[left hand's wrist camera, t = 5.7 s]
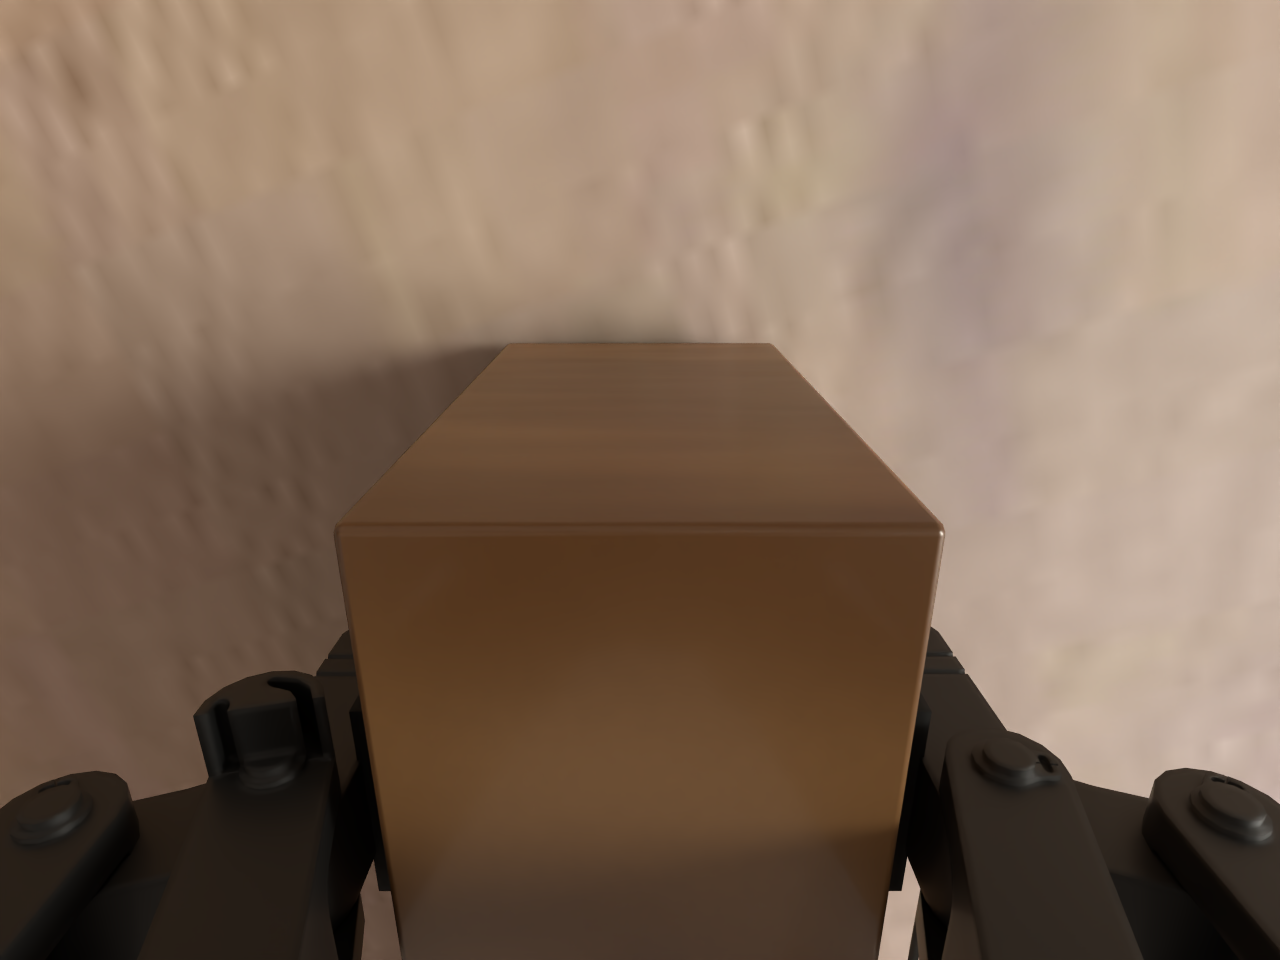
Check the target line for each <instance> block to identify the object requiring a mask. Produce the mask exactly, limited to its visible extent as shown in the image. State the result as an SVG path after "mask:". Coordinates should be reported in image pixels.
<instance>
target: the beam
mask: <svg viewBox="0 0 1280 960" xmlns="http://www.w3.org/2000/svg"><path fill="white" fill-rule="evenodd" d="M944 538H945V530H944V527H943V524H942V523H941V522H940V521H939V520H938V519H937V518H936V517H935V516H934V515H933V514H932V513H931V512H930V510H929V509H928V508H927V507H926V506H925V505H924V504H923V503H922V502H921V501H920V500H919V499H918V498H917V497H916V496H915V495H914V494H913V492H912V491H911V490H910V489H909V488H908V487H907V486H906V485H905V484H904V483H903V482H902V481H901V480H900V479H899V478H898V477H897V476H896V475H895V473H894V472H893V471H892V470H891V469H890V468H889V467H888V466H887V465H886V464H885V463H884V462H883V461H882V460H881V459H880V458H879V457H878V455H877V454H876V453H875V452H874V451H873V450H872V449H871V448H870V447H869V446H868V445H867V444H866V443H865V442H864V441H863V440H862V439H861V438H860V436H859V435H858V434H857V433H856V432H855V431H854V430H853V429H852V428H851V427H850V426H849V425H848V424H847V423H846V422H845V421H844V420H843V418H842V417H841V416H840V415H839V414H838V413H837V412H836V411H835V410H834V409H833V408H832V407H831V406H830V405H829V404H828V403H827V402H826V401H825V399H824V398H823V397H822V396H821V395H820V394H819V393H818V392H817V391H816V390H815V389H814V388H813V387H812V386H811V385H810V384H809V383H808V381H807V380H806V379H805V378H804V377H803V376H802V375H801V374H800V373H799V372H798V371H797V370H796V369H795V368H794V367H793V366H792V365H791V363H790V362H789V361H788V360H787V359H786V358H785V357H784V356H783V355H782V354H781V353H780V352H779V351H778V350H777V349H776V348H775V347H774V346H773V345H772V344H770V343H596V344H509V345H507V346H506V347H505V348H504V349H503V350H502V351H501V352H500V353H499V354H498V355H497V357H496V358H495V359H494V360H493V361H492V362H491V363H490V364H489V365H488V366H487V367H486V368H485V369H484V370H483V371H482V372H481V373H480V374H479V375H478V376H477V377H476V379H475V380H474V381H473V382H472V383H471V384H470V385H469V386H468V387H467V388H466V389H465V390H464V391H463V392H462V393H461V394H460V395H459V396H458V397H457V398H456V399H455V401H454V402H453V403H452V404H451V405H450V406H449V407H448V408H447V409H446V410H445V411H444V412H443V413H442V414H441V415H440V416H439V417H438V418H437V419H436V420H435V421H434V423H433V424H432V425H431V426H430V427H429V428H428V429H427V430H426V431H425V432H424V433H423V434H422V435H421V436H420V437H419V438H418V439H417V440H416V441H415V442H414V443H413V445H412V446H411V447H410V448H409V449H408V450H407V451H406V452H405V453H404V454H403V455H402V456H401V457H400V458H399V459H398V460H397V461H396V462H395V463H394V464H393V465H392V467H391V468H390V469H389V470H388V471H387V472H386V473H385V474H384V475H383V476H382V477H381V478H380V479H379V480H378V481H377V482H376V483H375V484H374V485H373V486H372V487H371V489H370V490H369V491H368V492H367V493H366V494H365V495H364V496H363V497H362V498H361V499H360V500H359V501H358V502H357V503H356V504H355V505H354V506H353V507H352V508H351V509H350V511H349V512H348V513H347V514H346V515H345V516H344V517H343V518H342V519H341V520H340V521H339V522H338V523H337V524H336V526H335V530H334V540H335V546H336V552H337V558H338V564H339V571H340V577H341V583H342V589H343V596H344V602H345V608H346V614H347V620H348V627H349V633H350V639H351V645H352V652H353V658H354V664H355V670H356V677H357V683H358V689H359V695H360V701H361V708H362V714H363V720H364V726H365V733H366V739H367V745H368V751H369V758H370V764H371V770H372V776H373V782H374V789H375V795H376V801H377V807H378V814H379V820H380V826H381V832H382V839H383V845H384V851H385V857H386V863H387V870H388V876H389V882H390V888H391V895H392V901H393V907H394V913H395V920H396V926H397V932H398V938H399V944H400V951H401V957H402V960H878V955H879V949H880V942H881V936H882V930H883V923H884V917H885V911H886V905H887V898H888V892H889V886H890V879H891V873H892V867H893V860H894V854H895V848H896V841H897V835H898V829H899V822H900V816H901V810H902V803H903V797H904V791H905V784H906V778H907V772H908V766H909V759H910V753H911V747H912V740H913V734H914V728H915V721H916V715H917V709H918V702H919V696H920V690H921V683H922V677H923V671H924V664H925V658H926V652H927V645H928V639H929V633H930V627H931V620H932V614H933V608H934V601H935V595H936V589H937V582H938V576H939V570H940V563H941V557H942V551H943V544H944Z"/></svg>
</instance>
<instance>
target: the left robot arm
mask: <svg viewBox="0 0 1280 960" xmlns="http://www.w3.org/2000/svg"><path fill="white" fill-rule="evenodd" d="M964 671H965V670H964V668H963V667H962V665H961V664H960V662H959V661H958V659H957V658H956V657H953V652H952V651H951V649H950V648H949V646H948V645H947V644H946V642H945V641H944V639H943V638H942V636H941V635H940V633H939V632H938V631H936V630H935V629H934V628H932V627H930V633H929V639H928V645H927V652H926V658H925V664H924V671H923V677H922V683H921V690H920V696H919V702H918V709H917V715H916V721H915V728H914V734H913V740H912V747H911V753H910V759H909V766H908V772H907V778H906V784H905V791H904V797H903V803H902V810H901V816H900V822H899V829H898V835H897V841H896V848H895V854H894V860H893V867H892V873H891V879H890V886H889V891H902V885H903V879H904V873H905V867H906V861H907V857H908V859H909V861H910V864H911V866H912V869H913V871H914V874H915V876H916V879H917V881H918V884H919V886H920V888H921V889H920V894H919V900H918V905H917V911H916V916H915V922H914V927H913V933H912V938H911V944H910V950H909V956H908V960H918V958H919V960H1280V804H1279V803H1277V802H1276V801H1275V800H1273V799H1272V798H1271V797H1270V796H1268V795H1266V794H1264V793H1262V792H1260V791H1259V790H1257V789H1255V788H1253V787H1251V786H1249V785H1247V784H1245V783H1243V782H1241V781H1239V780H1236V779H1233V778H1231V777H1227V776H1224V775H1221V774H1218V773H1215V772H1212V771H1205V770H1198V769H1190V768H1182V769H1175V770H1168V771H1165V772H1164V773H1163V774H1161V775H1160V776H1159V777H1158V778H1157V779H1155V781H1154V784H1153V787H1152V791H1151V794H1150V797H1149V798H1145V797H1141V796H1136V795H1132V794H1127V793H1123V792H1118V791H1114V790H1109V789H1105V788H1100V787H1096V786H1092V785H1088V784H1085V783H1082V782H1078V781H1075V780H1073V779H1072V777H1071V775H1070V773H1069V772H1068V770H1067V769H1066V767H1065V766H1064V764H1063V763H1062V761H1061V760H1060V759H1059V758H1058V757H1056V756H1055V755H1054V754H1053V753H1051V752H1050V751H1049V750H1048V749H1046V748H1045V747H1044V746H1043V745H1041V744H1039V743H1037V742H1035V741H1033V740H1031V739H1029V738H1027V737H1025V736H1023V735H1021V734H1017V733H1014V732H1010V731H1007V730H1006V729H1005V727H1004V726H1003V724H1002V723H1001V721H1000V720H999V719H998V717H997V716H996V714H995V713H994V711H993V710H992V708H991V707H990V706H989V704H988V703H987V701H986V700H985V698H984V697H983V695H982V694H981V693H980V691H979V690H978V688H977V687H976V685H975V684H974V682H973V681H972V680H971V678H970V677H969V675H968V674H965V672H964ZM193 717H194V721H195V725H196V729H197V733H198V737H199V741H200V744H201V748H202V752H203V756H204V760H205V764H206V768H207V771H208V775H209V778H208V780H207V783H206V784H203V785H199V786H196V787H192V788H189V789H185V790H180V791H176V792H172V793H167V794H163V795H158V796H154V797H149V798H145V799H140V800H136V801H132V798H131V795H130V791H129V788H128V785H127V783H126V782H125V781H124V780H123V779H121V778H120V777H119V776H118V775H117V774H113V773H107V772H100V771H92V772H84V773H77V774H70V775H67V776H64V777H61V778H58V779H55V780H51V781H49V782H46V783H43V784H41V785H39V786H37V787H35V788H33V789H31V790H29V791H27V792H25V793H24V794H22V795H20V796H18V797H16V798H14V799H13V800H11V801H10V802H9V803H7V804H6V805H5V806H3V807H2V808H1V809H0V960H361V955H362V945H363V934H364V924H365V919H364V912H363V905H362V900H361V894H360V891H361V889H362V886H363V884H364V881H365V879H366V876H367V874H368V871H369V869H370V867H371V864H372V862H373V859H374V863H375V869H376V875H377V881H378V887H379V891H391V888H390V882H389V876H388V870H387V863H386V857H385V851H384V845H383V839H382V832H381V826H380V820H379V814H378V807H377V801H376V795H375V789H374V782H373V776H372V770H371V764H370V758H369V751H368V745H367V739H366V733H365V726H364V720H363V714H362V708H361V701H360V695H359V689H358V683H357V677H356V670H355V664H354V658H353V652H352V645H351V639H350V633H349V630H348V631H346V632H345V633H344V634H342V636H341V637H340V639H339V640H338V642H337V643H336V645H335V646H334V647H333V649H332V650H331V652H330V653H329V655H328V659H325V661H324V662H323V663H322V665H321V666H320V668H319V669H318V671H317V675H316V676H312V675H310V674H305V673H301V672H297V671H273V672H268V673H264V674H259V675H255V676H251V677H247V678H245V679H242V680H240V681H238V682H235V683H233V684H231V685H229V686H226V687H224V688H223V689H221V690H220V691H218V692H217V693H215V694H214V695H213V696H211V697H210V698H208V699H207V700H206V701H204V703H203V704H202V705H201V707H200V708H199V709H198V710H197V712H196V713H195V714H194V716H193Z"/></svg>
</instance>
